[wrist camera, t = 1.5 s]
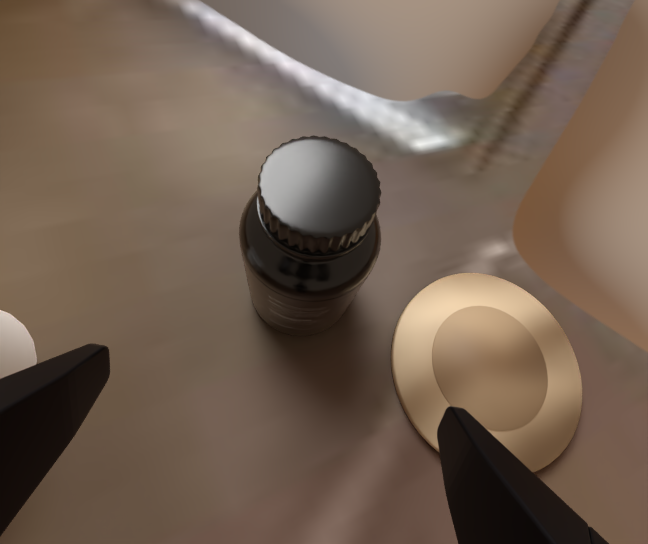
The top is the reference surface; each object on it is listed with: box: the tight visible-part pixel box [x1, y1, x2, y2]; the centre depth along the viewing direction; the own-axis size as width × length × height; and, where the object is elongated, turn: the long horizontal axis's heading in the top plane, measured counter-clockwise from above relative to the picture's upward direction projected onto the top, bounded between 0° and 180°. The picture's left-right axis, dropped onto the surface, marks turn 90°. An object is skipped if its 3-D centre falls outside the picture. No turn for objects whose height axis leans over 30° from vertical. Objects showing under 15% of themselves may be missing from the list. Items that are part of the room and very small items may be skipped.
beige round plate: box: [391, 273, 582, 472], centre depth 23 cm, size 13×13×1 cm
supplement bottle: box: [239, 136, 381, 336], centre depth 19 cm, size 7×7×12 cm
